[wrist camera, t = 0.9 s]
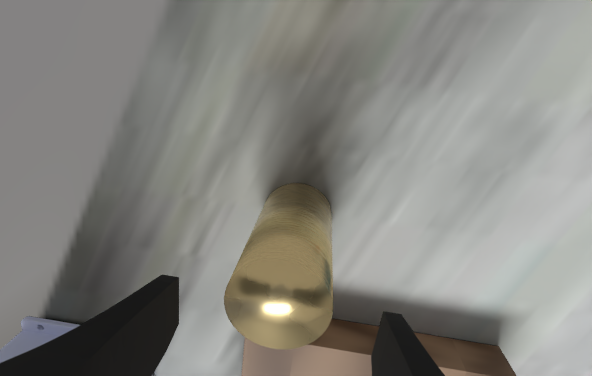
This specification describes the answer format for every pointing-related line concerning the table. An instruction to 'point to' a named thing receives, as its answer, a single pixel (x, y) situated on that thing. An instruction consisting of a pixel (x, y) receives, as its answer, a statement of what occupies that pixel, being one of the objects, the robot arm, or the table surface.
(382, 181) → the table surface
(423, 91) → the table surface
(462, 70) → the table surface
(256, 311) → the brass peg
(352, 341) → the jig plate
